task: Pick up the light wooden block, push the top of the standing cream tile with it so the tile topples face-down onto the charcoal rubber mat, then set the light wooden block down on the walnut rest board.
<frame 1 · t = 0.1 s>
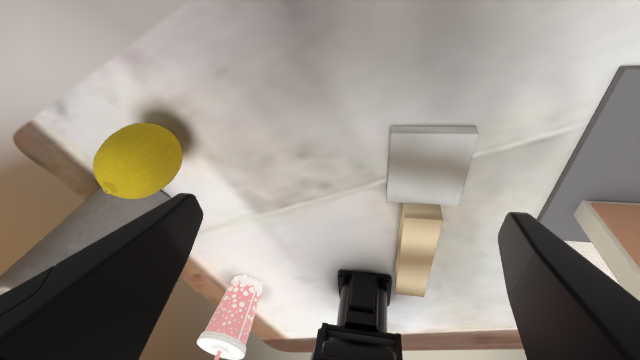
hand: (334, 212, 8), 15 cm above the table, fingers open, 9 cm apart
beverage cup: (248, 282, 42), on the table
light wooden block: (413, 237, 30), on the table
lemon: (171, 133, 27), on the table
tile: (637, 210, 22), resting on mat
pillar candle: (148, 205, 35), on the table
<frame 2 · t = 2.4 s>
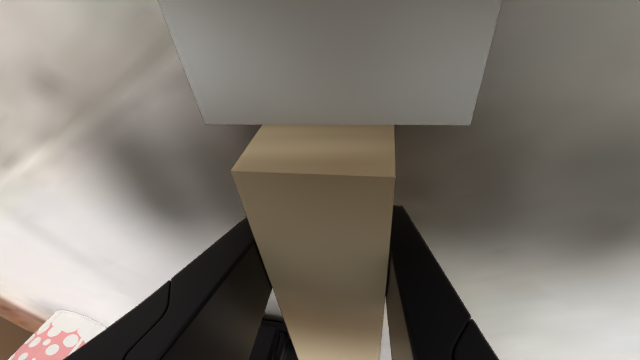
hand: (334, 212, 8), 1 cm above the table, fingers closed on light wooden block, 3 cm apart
beverage cup: (85, 322, 24), on the table
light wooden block: (343, 249, 11), on the table, touching gripper
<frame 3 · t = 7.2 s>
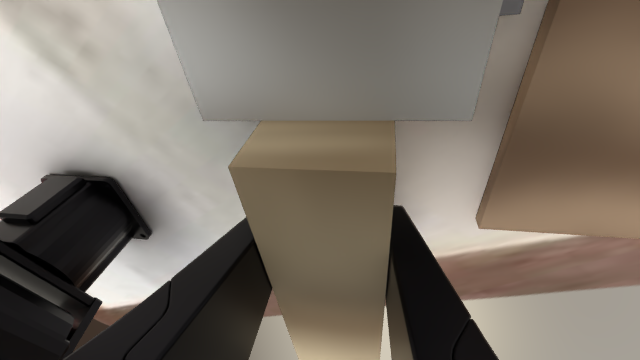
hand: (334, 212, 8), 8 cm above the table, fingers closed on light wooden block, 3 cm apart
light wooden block: (343, 247, 11), point 7 cm above the table, touching gripper
when the fingers open (3 cm above the table, at t = 11.2 s): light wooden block drops 2 cm, resting on rest board.
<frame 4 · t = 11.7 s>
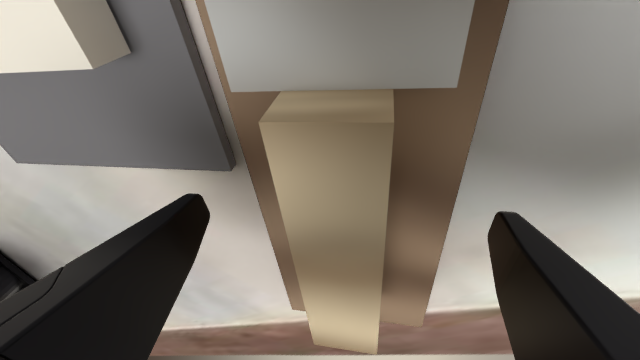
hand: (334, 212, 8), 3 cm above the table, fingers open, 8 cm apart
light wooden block: (347, 215, 12), point 1 cm above the table, touching rest board
rest board: (349, 168, 12), on the table
tile: (14, 65, 10), point 1 cm above the table, tilted 90°, touching mat
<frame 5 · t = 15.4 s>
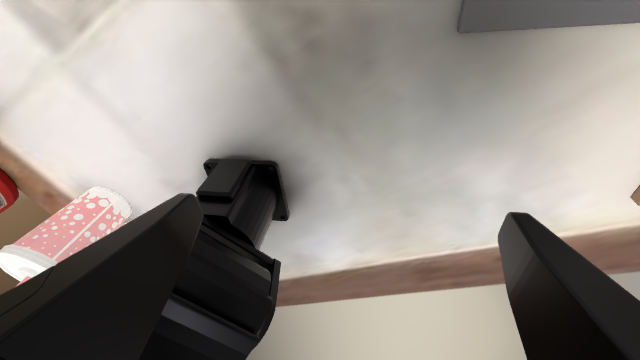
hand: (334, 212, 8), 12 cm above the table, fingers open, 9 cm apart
beverage cup: (112, 201, 31), on the table
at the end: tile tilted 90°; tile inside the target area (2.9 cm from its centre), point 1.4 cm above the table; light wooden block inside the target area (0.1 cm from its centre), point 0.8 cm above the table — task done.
